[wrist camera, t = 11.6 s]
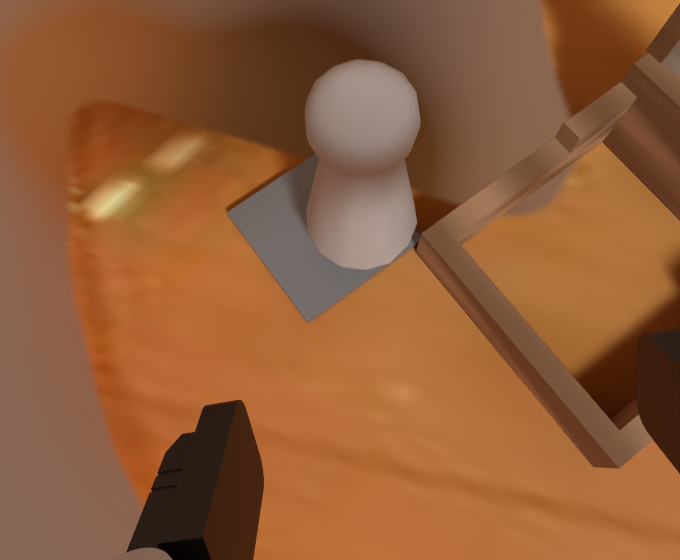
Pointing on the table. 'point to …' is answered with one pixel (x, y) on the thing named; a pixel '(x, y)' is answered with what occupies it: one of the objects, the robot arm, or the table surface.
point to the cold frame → (526, 177)
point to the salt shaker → (361, 163)
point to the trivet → (297, 243)
